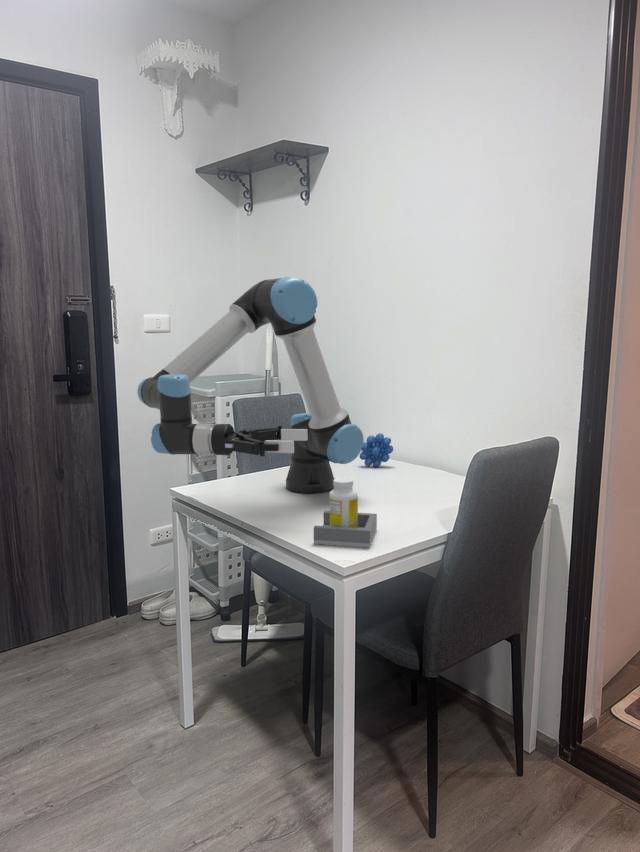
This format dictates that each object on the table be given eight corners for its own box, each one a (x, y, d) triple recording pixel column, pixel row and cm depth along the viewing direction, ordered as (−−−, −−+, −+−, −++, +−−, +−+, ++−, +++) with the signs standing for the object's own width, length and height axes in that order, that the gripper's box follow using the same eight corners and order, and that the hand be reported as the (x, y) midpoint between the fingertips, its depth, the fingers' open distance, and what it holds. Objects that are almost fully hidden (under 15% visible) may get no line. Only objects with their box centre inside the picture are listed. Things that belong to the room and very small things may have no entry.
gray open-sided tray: (313, 544, 148) (313, 527, 148) (324, 526, 161) (324, 510, 160) (369, 547, 146) (369, 530, 145) (376, 529, 158) (376, 513, 158)
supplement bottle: (356, 527, 156) (356, 476, 154) (358, 536, 150) (358, 483, 148) (329, 528, 156) (328, 476, 154) (330, 537, 150) (329, 483, 148)
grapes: (393, 464, 227) (393, 431, 225) (393, 469, 220) (393, 434, 218) (360, 464, 228) (360, 430, 226) (359, 468, 222) (359, 434, 220)
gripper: (233, 443, 168) (312, 445, 164) (196, 467, 144) (287, 469, 140) (231, 415, 167) (311, 416, 162) (193, 434, 143) (286, 435, 139)
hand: (300, 440), depth 151 cm, fingers open, 13 cm apart
